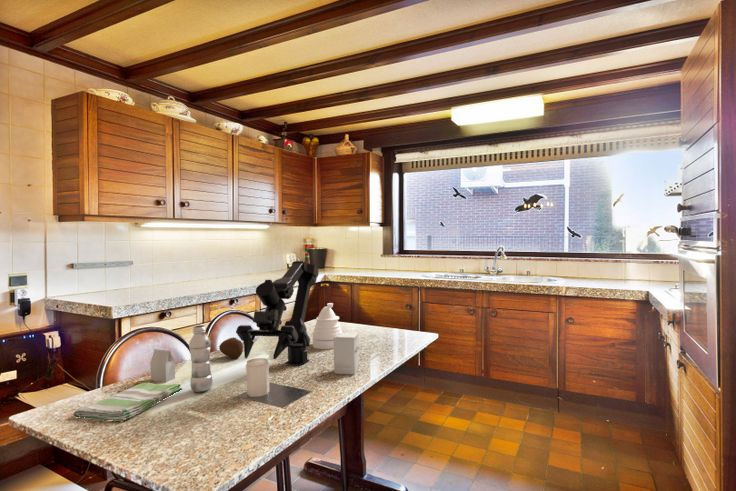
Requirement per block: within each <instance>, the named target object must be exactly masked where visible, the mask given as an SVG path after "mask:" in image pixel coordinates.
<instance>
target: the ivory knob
mask: <svg viewBox="0 0 736 491" xmlns="http://www.w3.org/2000/svg"><path fill="white" fill-rule="evenodd" d="M268 360H269V359H267V358H266V357H255V358H251V359H248V360H247V361H246V364H245V374H246V379H245V380H246V391H247V395H249V396H251V397H260V396H263V395H266V394H268V392H269V391H270V390H269V382H270V368H269V364H270V362H269V361H268Z"/></svg>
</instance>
